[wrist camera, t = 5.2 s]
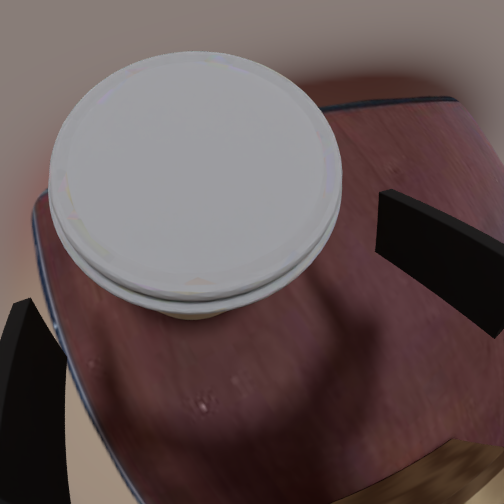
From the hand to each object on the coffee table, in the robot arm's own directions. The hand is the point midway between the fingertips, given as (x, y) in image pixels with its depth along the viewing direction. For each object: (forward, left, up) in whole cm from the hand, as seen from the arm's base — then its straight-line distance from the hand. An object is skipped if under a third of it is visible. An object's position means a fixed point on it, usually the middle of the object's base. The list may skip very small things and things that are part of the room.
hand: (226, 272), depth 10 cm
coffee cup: (-1, +3, -9) cm, 10 cm away
